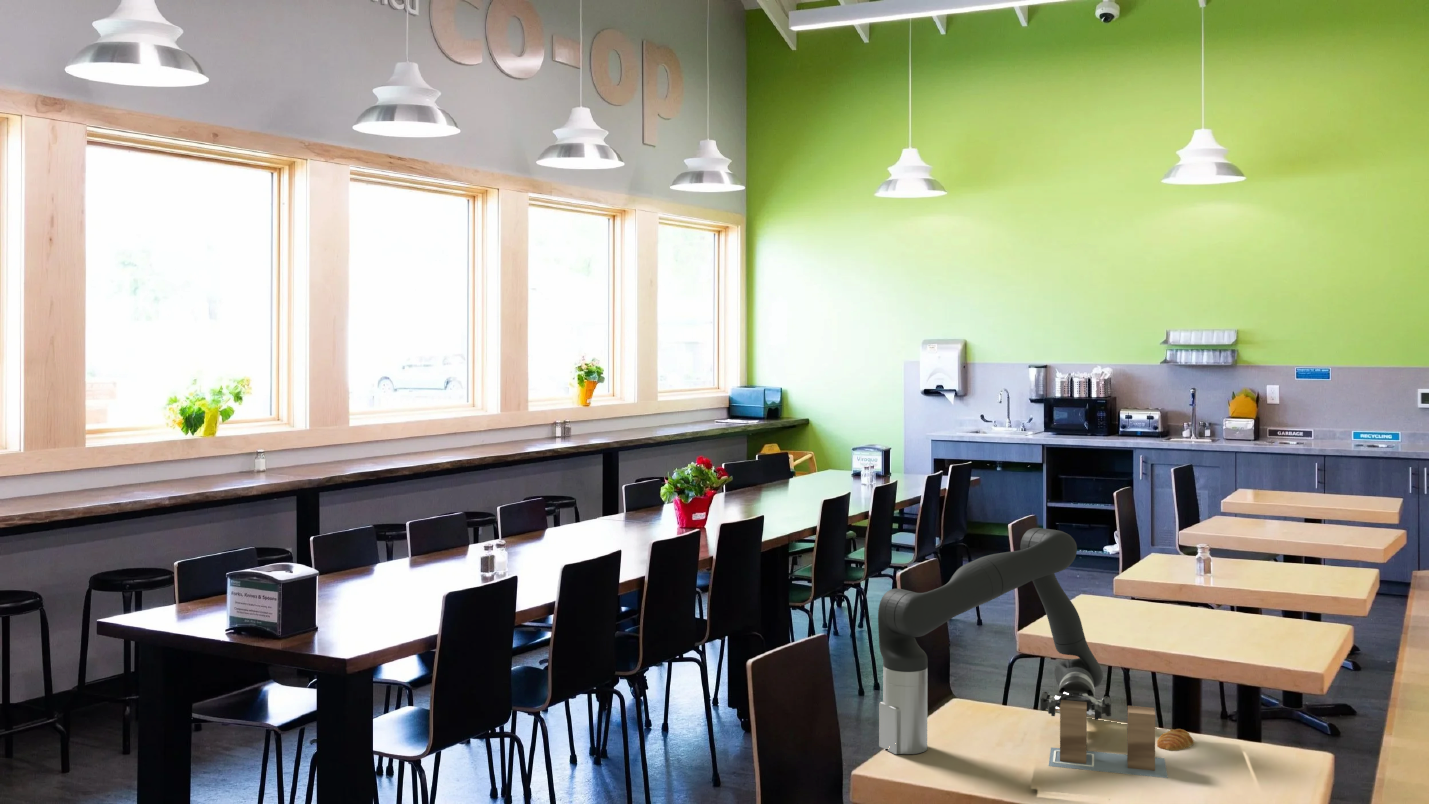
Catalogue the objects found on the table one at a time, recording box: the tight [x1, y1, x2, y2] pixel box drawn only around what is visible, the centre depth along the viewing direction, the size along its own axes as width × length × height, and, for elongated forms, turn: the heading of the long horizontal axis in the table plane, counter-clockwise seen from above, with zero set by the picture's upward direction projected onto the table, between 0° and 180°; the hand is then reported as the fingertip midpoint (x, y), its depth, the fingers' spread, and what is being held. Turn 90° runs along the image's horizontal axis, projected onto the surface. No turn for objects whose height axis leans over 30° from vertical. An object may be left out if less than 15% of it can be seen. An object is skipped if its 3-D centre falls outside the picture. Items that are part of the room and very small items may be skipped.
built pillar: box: [1126, 705, 1156, 771], centre depth 228 cm, size 5×5×11 cm
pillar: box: [1059, 700, 1088, 764], centre depth 233 cm, size 5×5×11 cm
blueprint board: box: [1048, 747, 1168, 779], centre depth 231 cm, size 12×22×1 cm, turn 72°
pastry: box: [1156, 728, 1196, 752], centre depth 242 cm, size 9×7×4 cm
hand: (1074, 713), depth 237 cm, fingers open, 8 cm apart
